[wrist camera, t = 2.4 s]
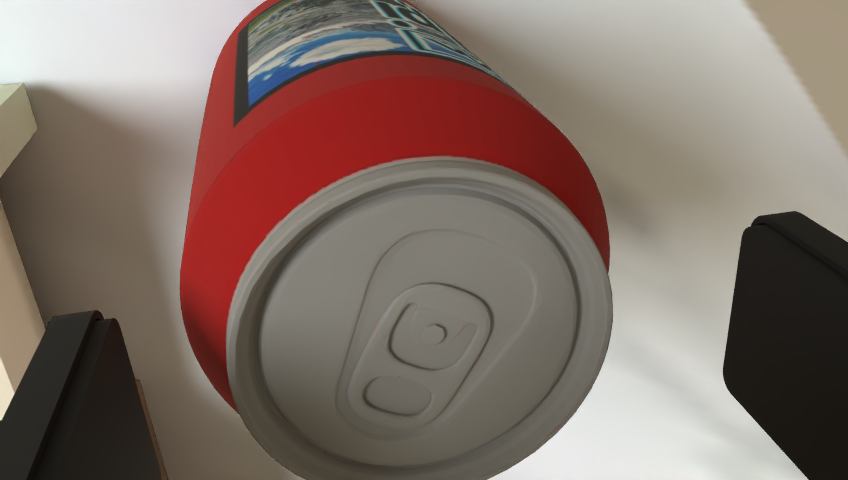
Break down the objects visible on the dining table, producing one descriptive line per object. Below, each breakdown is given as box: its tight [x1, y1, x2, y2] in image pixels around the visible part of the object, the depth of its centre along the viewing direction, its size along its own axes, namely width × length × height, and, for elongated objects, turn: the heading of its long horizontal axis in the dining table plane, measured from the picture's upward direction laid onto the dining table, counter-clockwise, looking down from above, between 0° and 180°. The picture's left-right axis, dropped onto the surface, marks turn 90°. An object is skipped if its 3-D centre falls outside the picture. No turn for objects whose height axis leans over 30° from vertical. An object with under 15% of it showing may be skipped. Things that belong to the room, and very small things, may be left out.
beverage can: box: [180, 0, 613, 480], centre depth 15 cm, size 7×7×12 cm
